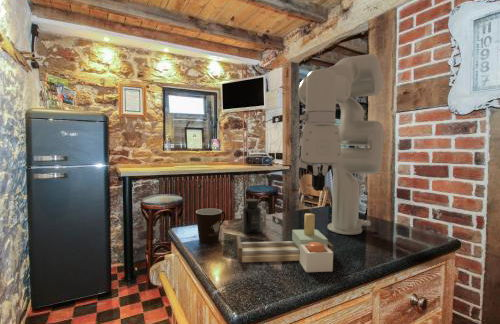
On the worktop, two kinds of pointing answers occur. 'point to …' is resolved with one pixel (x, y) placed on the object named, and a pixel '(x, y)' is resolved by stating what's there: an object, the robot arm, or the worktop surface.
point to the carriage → (308, 233)
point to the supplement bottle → (251, 217)
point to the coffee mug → (209, 225)
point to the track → (269, 251)
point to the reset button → (315, 247)
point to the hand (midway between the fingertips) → (318, 189)
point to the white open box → (316, 259)
